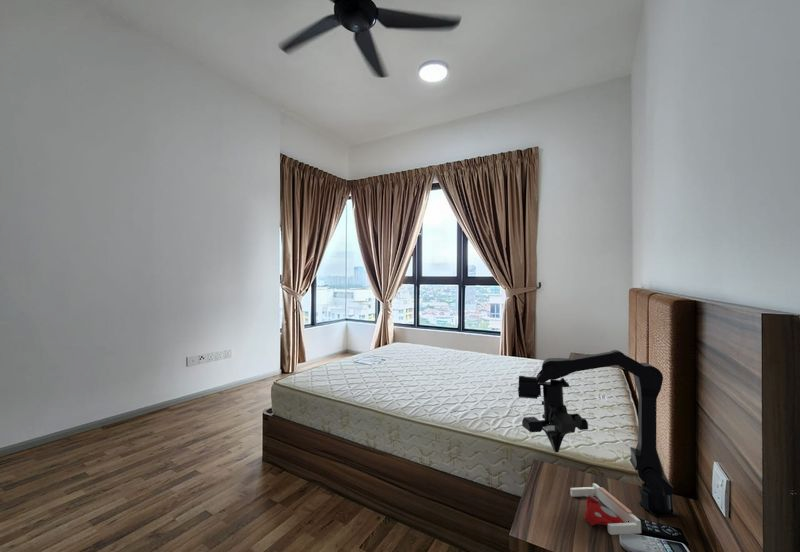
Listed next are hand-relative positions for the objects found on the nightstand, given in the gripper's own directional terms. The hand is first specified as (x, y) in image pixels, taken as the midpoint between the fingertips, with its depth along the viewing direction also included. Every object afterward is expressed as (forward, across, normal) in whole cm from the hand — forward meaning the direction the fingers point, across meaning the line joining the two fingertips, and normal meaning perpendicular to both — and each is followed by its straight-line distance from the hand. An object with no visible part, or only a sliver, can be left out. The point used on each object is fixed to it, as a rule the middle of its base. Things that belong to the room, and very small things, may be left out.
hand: (556, 451), depth 106 cm
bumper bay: (+12, +6, -11) cm, 17 cm away
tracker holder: (+12, +5, -13) cm, 19 cm away
